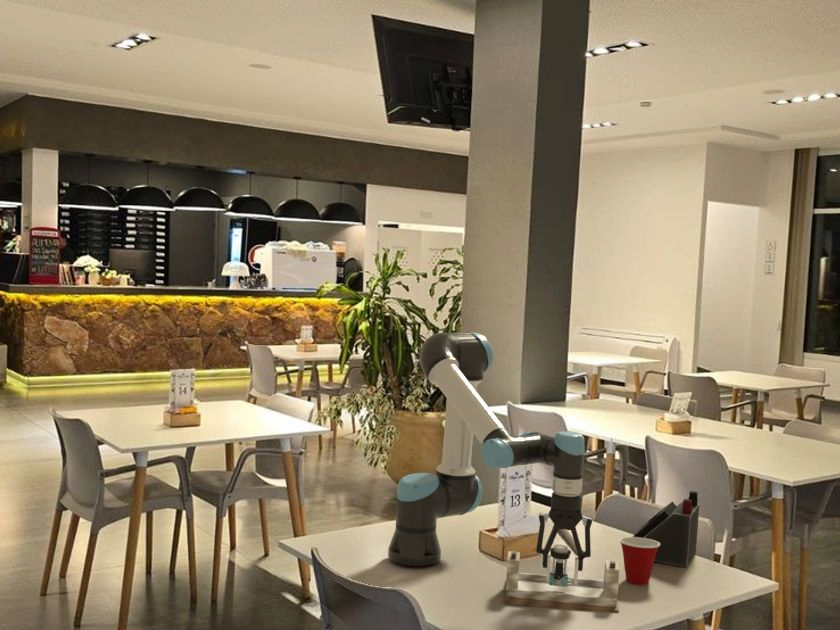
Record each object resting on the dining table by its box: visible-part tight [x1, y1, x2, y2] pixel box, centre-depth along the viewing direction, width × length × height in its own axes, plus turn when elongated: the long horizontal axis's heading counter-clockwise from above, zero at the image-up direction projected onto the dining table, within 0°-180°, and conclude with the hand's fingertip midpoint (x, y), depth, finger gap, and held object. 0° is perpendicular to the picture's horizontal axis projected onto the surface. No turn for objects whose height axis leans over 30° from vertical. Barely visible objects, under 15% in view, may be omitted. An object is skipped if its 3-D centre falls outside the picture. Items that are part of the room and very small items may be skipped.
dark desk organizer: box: [632, 490, 700, 568], centre depth 266 cm, size 16×16×20 cm
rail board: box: [504, 550, 620, 613], centre depth 231 cm, size 28×17×11 cm, turn 82°
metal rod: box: [558, 529, 585, 555], centre depth 279 cm, size 2×27×2 cm, turn 4°
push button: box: [549, 544, 574, 587], centre depth 231 cm, size 7×5×10 cm
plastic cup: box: [619, 536, 660, 586], centre depth 244 cm, size 11×11×12 cm
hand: (561, 581), depth 231 cm, fingers closed on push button, 6 cm apart
